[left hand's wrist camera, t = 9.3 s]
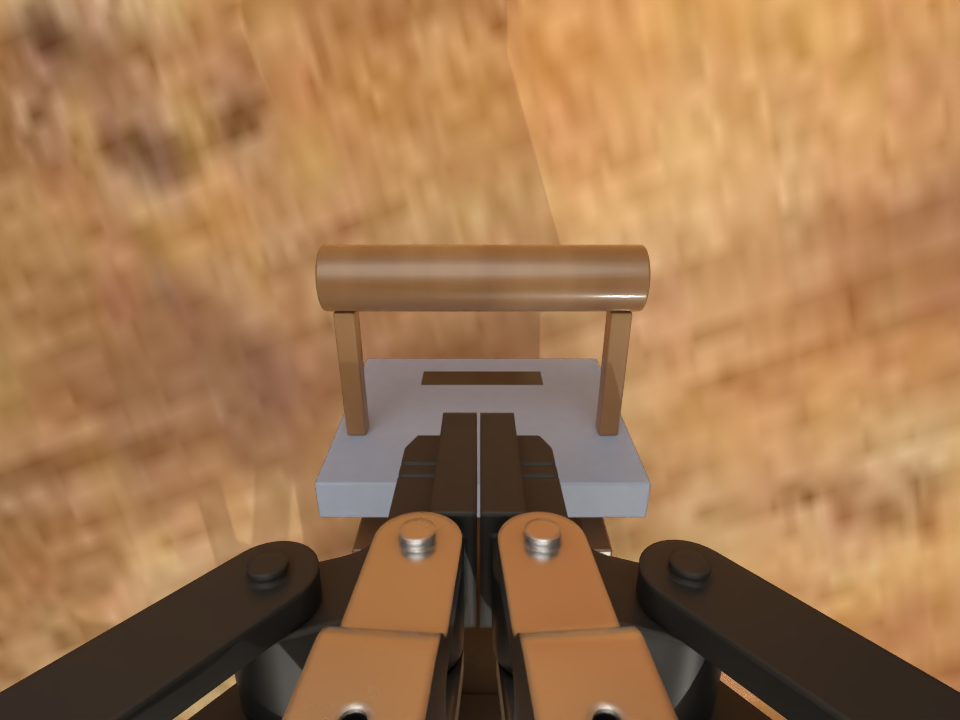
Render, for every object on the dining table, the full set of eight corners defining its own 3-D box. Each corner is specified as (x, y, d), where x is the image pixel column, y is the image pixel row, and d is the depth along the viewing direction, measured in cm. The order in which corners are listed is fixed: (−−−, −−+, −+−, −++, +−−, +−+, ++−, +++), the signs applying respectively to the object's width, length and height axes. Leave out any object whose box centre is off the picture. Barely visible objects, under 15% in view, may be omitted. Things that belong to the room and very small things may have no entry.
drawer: (353, 208, 20) (282, 274, 13) (611, 208, 20) (684, 274, 13) (396, 683, 31) (371, 866, 24) (566, 683, 31) (592, 866, 24)
